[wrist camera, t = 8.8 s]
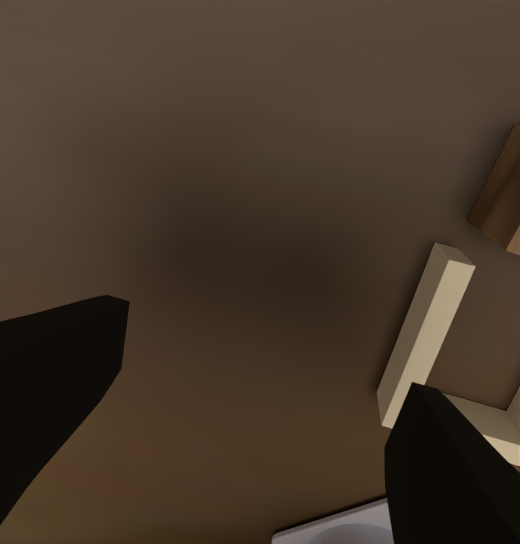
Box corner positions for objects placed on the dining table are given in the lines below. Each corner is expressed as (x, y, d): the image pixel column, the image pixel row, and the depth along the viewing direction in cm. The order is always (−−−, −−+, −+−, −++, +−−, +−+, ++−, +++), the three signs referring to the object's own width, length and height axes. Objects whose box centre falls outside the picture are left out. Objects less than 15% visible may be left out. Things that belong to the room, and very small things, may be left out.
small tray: (518, 433, 21) (541, 472, 19) (376, 392, 22) (381, 425, 19) (600, 285, 18) (639, 309, 16) (434, 242, 19) (449, 259, 16)
